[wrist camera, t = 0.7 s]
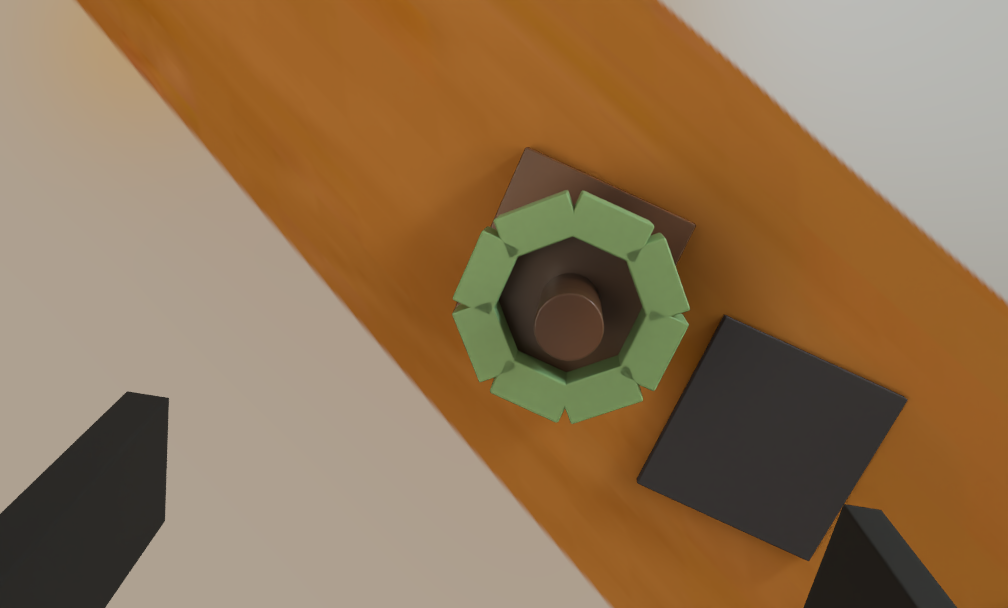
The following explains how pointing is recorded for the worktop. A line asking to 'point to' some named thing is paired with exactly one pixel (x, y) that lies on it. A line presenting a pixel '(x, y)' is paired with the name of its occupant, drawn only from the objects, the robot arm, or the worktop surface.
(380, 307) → the worktop surface
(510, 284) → the peg stand
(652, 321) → the ring
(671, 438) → the mat
